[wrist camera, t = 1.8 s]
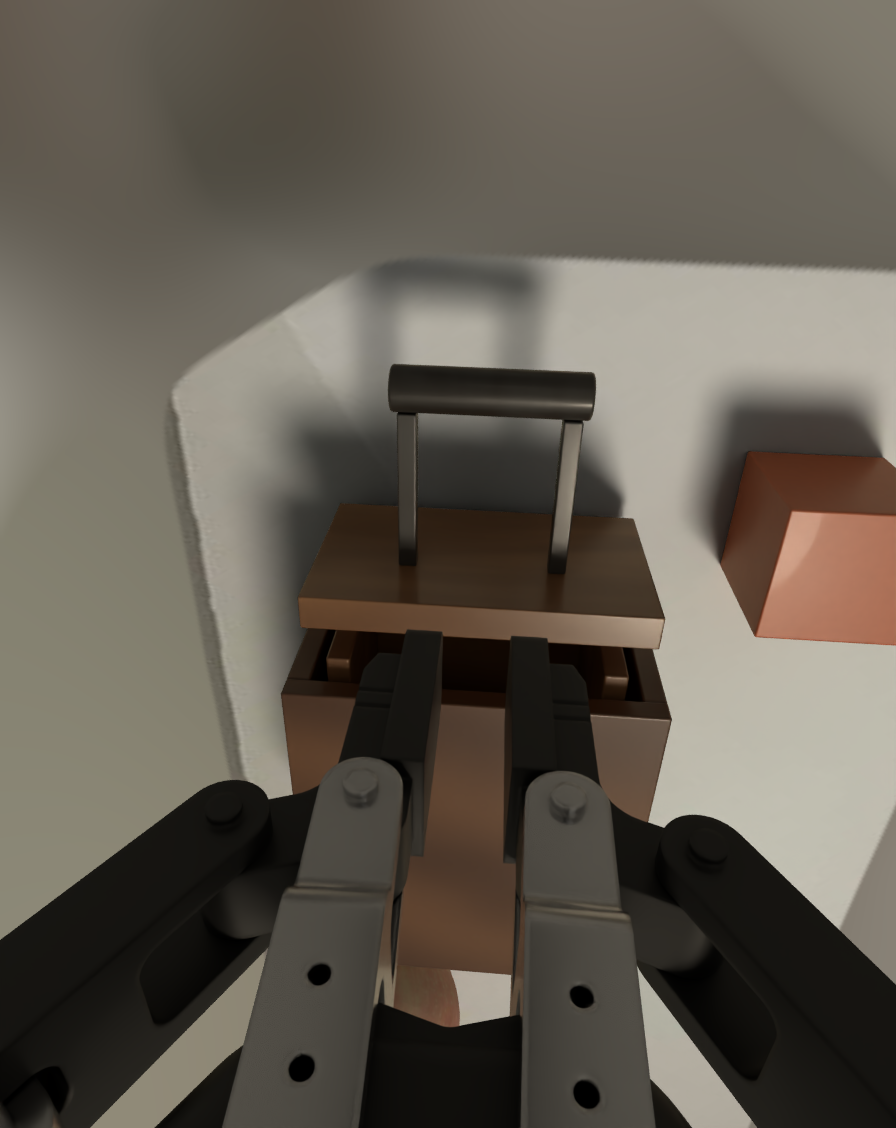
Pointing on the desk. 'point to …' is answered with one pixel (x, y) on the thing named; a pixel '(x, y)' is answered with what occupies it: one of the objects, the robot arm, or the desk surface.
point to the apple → (427, 994)
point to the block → (815, 547)
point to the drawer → (484, 554)
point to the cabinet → (472, 797)
